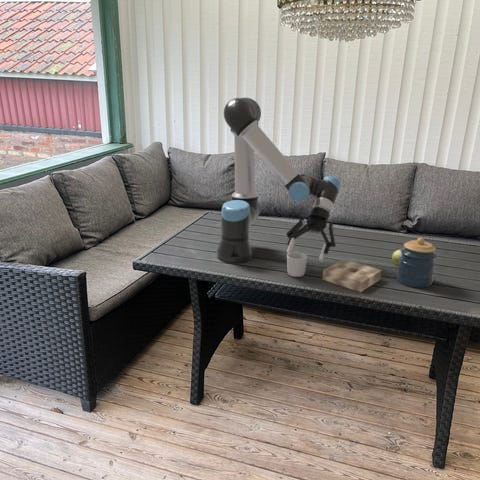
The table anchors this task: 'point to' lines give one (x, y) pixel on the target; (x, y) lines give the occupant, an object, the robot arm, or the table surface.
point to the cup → (296, 264)
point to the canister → (417, 264)
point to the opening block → (352, 275)
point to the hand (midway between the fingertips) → (303, 256)
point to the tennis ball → (396, 256)
